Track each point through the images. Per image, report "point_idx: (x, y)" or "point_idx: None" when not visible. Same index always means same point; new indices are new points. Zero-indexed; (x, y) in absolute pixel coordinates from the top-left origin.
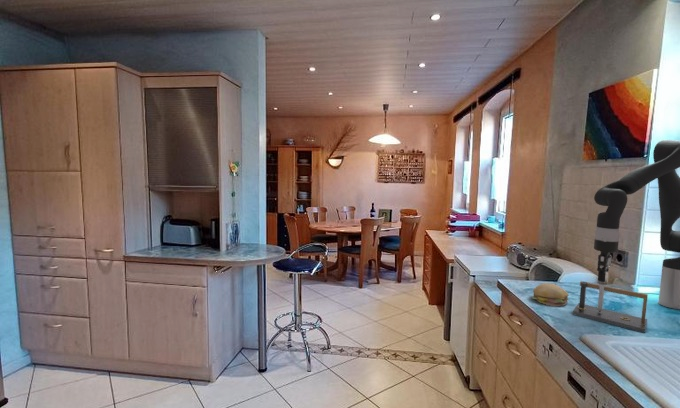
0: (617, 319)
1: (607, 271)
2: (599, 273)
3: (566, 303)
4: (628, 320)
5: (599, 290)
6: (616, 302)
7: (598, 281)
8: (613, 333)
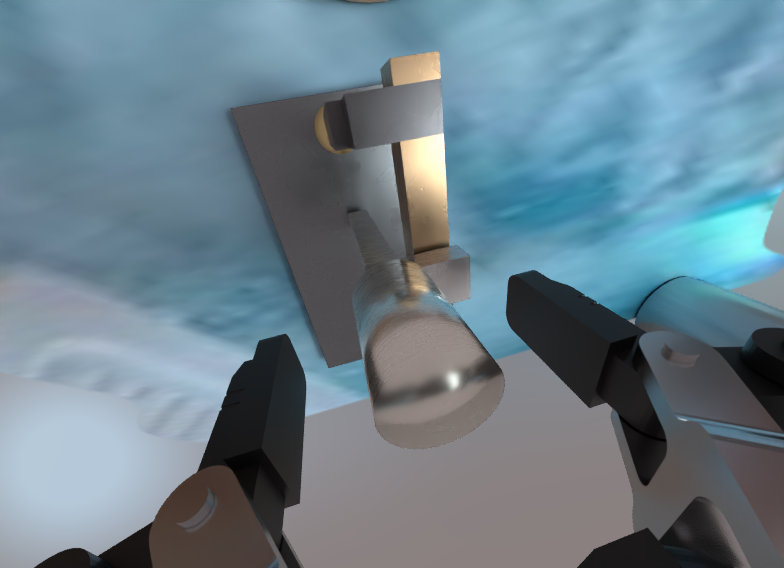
0: (337, 292)
1: (558, 370)
2: (204, 460)
3: (373, 2)
4: None
5: (363, 258)
6: (608, 191)
7: (362, 289)
8: (201, 318)
